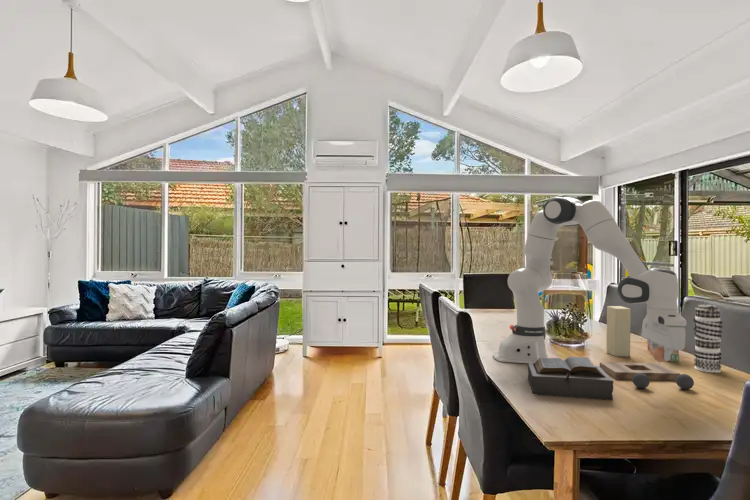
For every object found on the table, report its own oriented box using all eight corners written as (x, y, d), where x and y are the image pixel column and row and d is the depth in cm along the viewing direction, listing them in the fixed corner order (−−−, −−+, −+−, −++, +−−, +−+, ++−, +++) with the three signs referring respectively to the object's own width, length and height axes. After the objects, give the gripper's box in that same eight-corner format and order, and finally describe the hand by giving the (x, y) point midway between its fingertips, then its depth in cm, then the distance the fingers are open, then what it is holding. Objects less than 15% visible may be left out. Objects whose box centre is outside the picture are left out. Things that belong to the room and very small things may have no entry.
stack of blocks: (647, 349, 209) (647, 323, 209) (662, 350, 207) (662, 323, 207) (662, 360, 188) (662, 331, 188) (679, 361, 186) (679, 332, 186)
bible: (614, 406, 135) (614, 374, 135) (520, 394, 147) (520, 364, 147) (610, 385, 156) (610, 356, 156) (529, 375, 168) (529, 349, 168)
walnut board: (615, 379, 162) (615, 372, 162) (599, 368, 176) (599, 362, 176) (679, 380, 160) (679, 373, 160) (658, 369, 174) (658, 363, 174)
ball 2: (681, 391, 148) (681, 376, 148) (672, 386, 153) (672, 371, 153) (697, 391, 148) (697, 376, 148) (688, 386, 153) (688, 372, 153)
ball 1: (636, 390, 149) (636, 375, 149) (629, 385, 154) (629, 371, 154) (652, 390, 149) (652, 375, 149) (644, 385, 154) (644, 371, 154)
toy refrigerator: (632, 356, 195) (632, 308, 195) (615, 356, 195) (615, 308, 195) (622, 352, 203) (622, 306, 203) (606, 352, 203) (606, 306, 203)
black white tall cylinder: (713, 374, 168) (713, 307, 168) (687, 367, 177) (687, 304, 176) (728, 371, 172) (728, 306, 172) (702, 365, 180) (702, 303, 180)
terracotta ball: (657, 363, 149) (657, 348, 149) (649, 360, 154) (649, 345, 154) (673, 364, 149) (673, 349, 148) (665, 360, 154) (665, 345, 153)
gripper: (637, 311, 162) (636, 349, 162) (668, 321, 141) (667, 365, 142) (655, 311, 161) (654, 350, 161) (690, 321, 141) (689, 365, 141)
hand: (661, 357), depth 151 cm, fingers closed on terracotta ball, 5 cm apart
